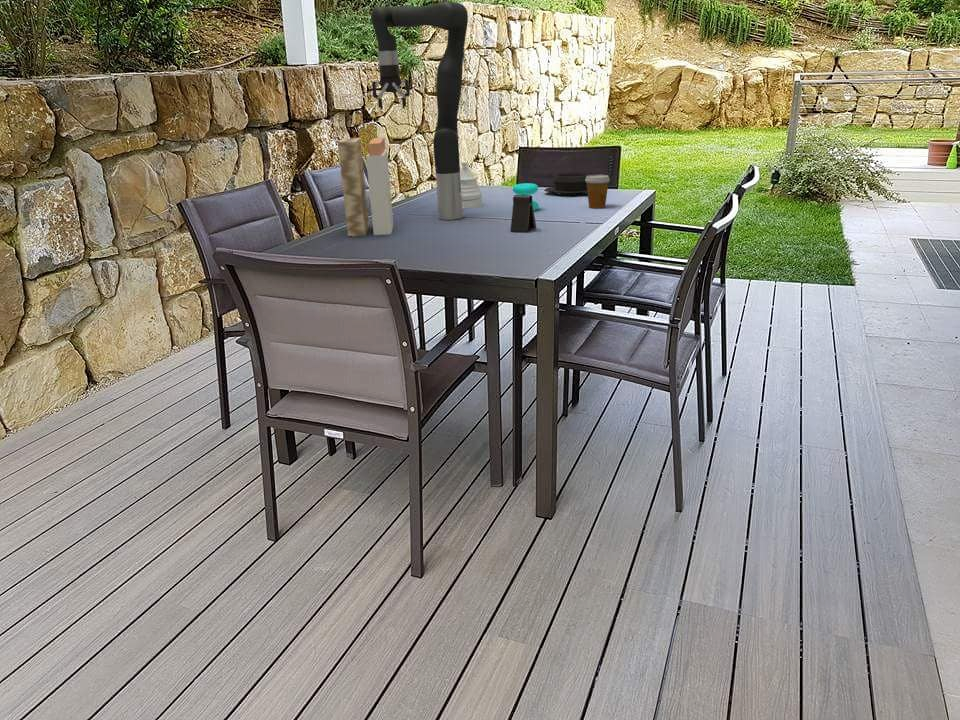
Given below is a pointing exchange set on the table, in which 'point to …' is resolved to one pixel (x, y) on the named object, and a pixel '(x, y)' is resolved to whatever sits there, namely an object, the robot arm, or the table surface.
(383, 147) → the terracotta bar
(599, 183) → the disposable coffee cup
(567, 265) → the table surface
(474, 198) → the honey pot
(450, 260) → the table surface
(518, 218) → the door stopper
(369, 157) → the grey post
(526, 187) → the donuts
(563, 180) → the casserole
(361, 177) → the oak post
